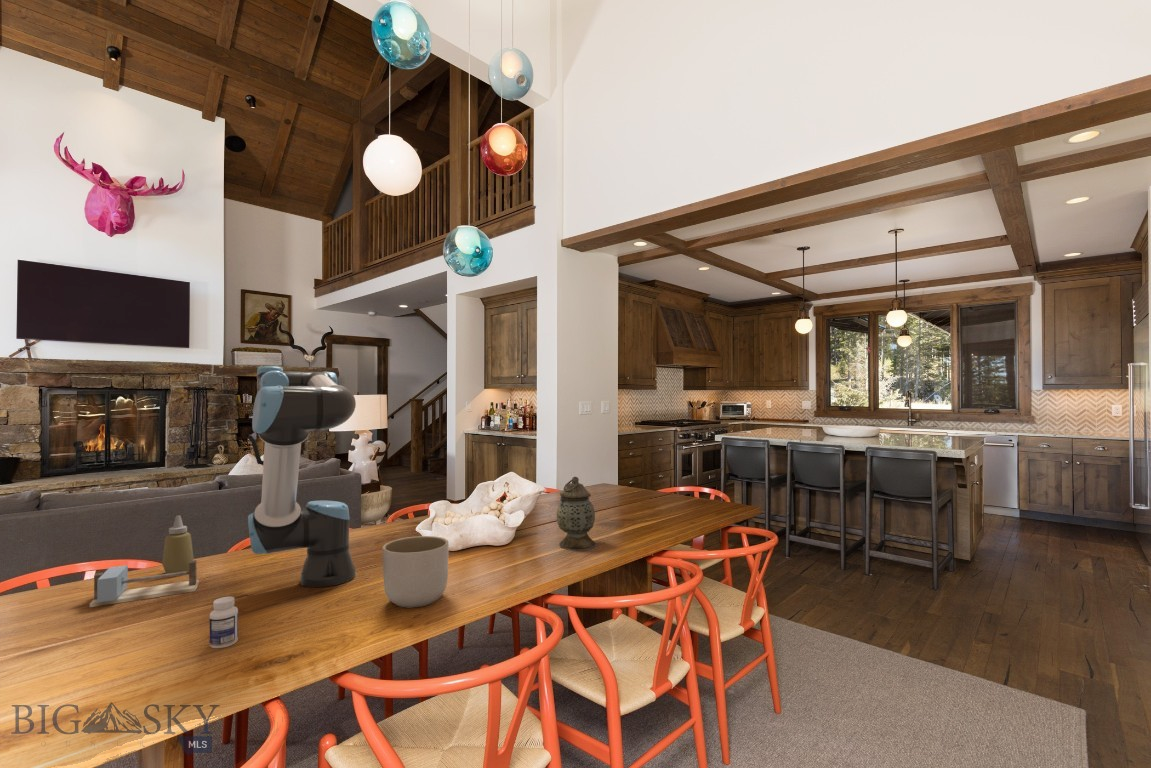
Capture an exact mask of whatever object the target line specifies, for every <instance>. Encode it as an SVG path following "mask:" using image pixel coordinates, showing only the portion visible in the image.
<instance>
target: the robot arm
mask: <svg viewBox="0 0 1151 768" xmlns="http://www.w3.org/2000/svg"><path fill="white" fill-rule="evenodd" d="M256 380H257V381H256V389H257V393H256V396H255V399H254V402H253V404H254V405H253V408H252V409H253V411H252V413H253V414H252V417H251V418H252V422H251V426H252V427H251V428H252V431H253V433H252V434H249V435H248V436H247V439H248V440H249V441H250V443H251V445H252V449H253V454H254V456H255V460H256V464H258V465H261V466H262V480H261V481H262V484H261V499H260V500H261V502H260V503H258V504H257V506H256V507H255V510H254V512H252V513H250V514H248V515H247V522H248V523H247V524H248V532H249V541H250V546H251V551H252V553H253V554H256V555H264V554H265V555H267V554H268V555H270V554H274V553H281V552H285V551H292V550H299V549H300V550H301V549H305V548H306V558H305V560H304V563H303V566H302V567H303V568H302V571H301V572H300V576H299V577H300V584H301V586H304V587H309V588H324V587H331V586H337V585H340V584H344V583H346V582H349V581H351V580H353V579H354V578H355V577H356V566H355V565H354V563H353V558H352V556H351V552H350V519H351V517H350V511H349V505H348V504H346V503H345V502H342V501H335V500H312V501H311V500H310V501H308V502H307V504H306V505H305V506H306V507H301V506H300V504H299V503H298V502H297V493H298V483H299V482H298V481H299V473H300V460H301V450H302V443H304V442H305V441H306V440H307V439H308V437H309V435H310V433H309V432H311V431H325V430H331V429H334V428H336V427H339V426H341V425H343V424H344V423H345V422H347V421H348V420H349V419H350V418H351V417H352V416H353V414H354V412H355V409H356V405H357V403H356V402H357V401H356V398H355V395H354V393H352V392H351V390H349V389H348V388H347V387H345V386H343V385H339V384H338V377H337V373H335V372H331V371H286V370H285V371H284V369H283V367H281V366H275V365H274V366H272V365H271V366H269V365H267V366H266V365H264V366H259V367H257V371H256ZM257 438H259V439H260V440H261V441H262V442H263V459H262V458H261V454H260V451H259V447H258V443H257V441H256V440H257Z"/></svg>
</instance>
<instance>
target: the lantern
mask: <svg viewBox="0 0 1151 768" xmlns="http://www.w3.org/2000/svg"><path fill="white" fill-rule="evenodd" d="M579 481H580V480H579V478H578V477H577V476H573V477H572V478H571V479H570V480H569V481H568V482H567V483H565V485H564V487H563V490H562V491H561V492H560V493H559V495H560V498H559V499H560V500H559V503H558V507H557V511H556V522H557V525H558V527H559V529H560V530H562V532H563V533H566V536H565V537H564V538H563V539H562V540H561V541H560V542H559V544H558V546H559V547H560V548H561V549H564V550H567V551H586V550H590V549H591V550H593V549H594V548H595V547H596V546H597V543H596V541H594V540H593V539H592V538H590V536H589V534H588V533H589V532H590V531H591V529H592V528H593V527H594V524H595V520H596V514H595V513H596V511H595V508H594V505H593V504H592V502H591V501H590V497H591V493H590V492H589V491H588V490H587V488H586V487H585V485H584V484H583V483H580V482H579Z"/></svg>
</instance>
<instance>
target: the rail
mask: <svg viewBox="0 0 1151 768" xmlns="http://www.w3.org/2000/svg"><path fill="white" fill-rule="evenodd" d="M197 562H198V561H197V560H195V559H194V560H193V561H190V563H189V571H184V572H177V573H169V574H166V573H165V574H163V573H162V574H156V575H148V576H140V577H134V578H133V577H132V578H128V579H126V580H122V584H124V583H128V584H130V583H137V582H143V581H144V582H145V581H150V580H151V581H152V580H158V579H167V578H172V577H180V576H186V575H188V581H187V580H186V581H180V582H172V583H167V584H166V583H165V584H160V585H159V584H158V585H153V586H152V585H151V586H146V587H145V586H144V587H138V588H132V589H125V590H124V591H123V593H122V594H121V595H120V596H119V598H118V599H117V600H112V601H105V602H98V603H97V580H98V579H99V578H100V577H101V576H102V575H103V574H104V573H105V572H104V571H103V572H96V573H95V574H93V575H94V576H93V583H94V584H93V599H92V600H91V602H89V608H94V607H101V606H107V605H108V606H109V605H113V604H120V603H125V602H126V603H127V602H128V603H129V602H133V601H140V600H148V599H153V598H160V597H166V596H173V595H178V594H179V595H180V594H185V593H193V592H196V590H197V587H198V585H199V582H200V580H199V579H197Z"/></svg>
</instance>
